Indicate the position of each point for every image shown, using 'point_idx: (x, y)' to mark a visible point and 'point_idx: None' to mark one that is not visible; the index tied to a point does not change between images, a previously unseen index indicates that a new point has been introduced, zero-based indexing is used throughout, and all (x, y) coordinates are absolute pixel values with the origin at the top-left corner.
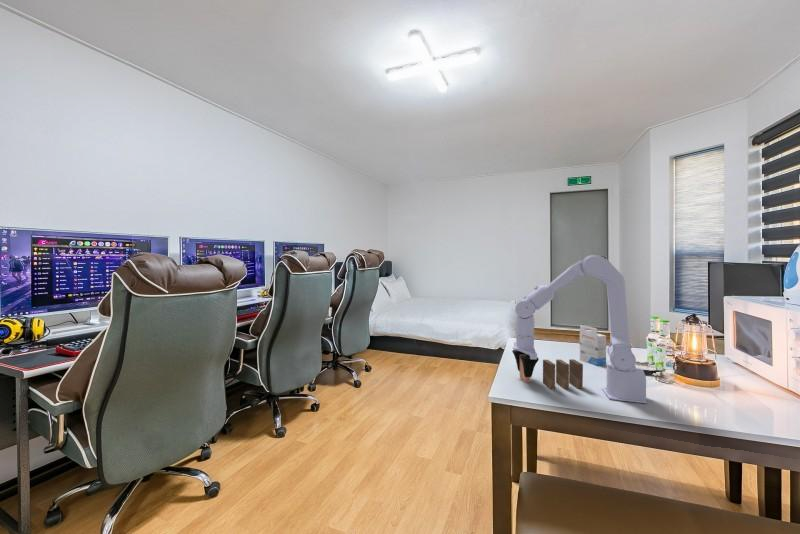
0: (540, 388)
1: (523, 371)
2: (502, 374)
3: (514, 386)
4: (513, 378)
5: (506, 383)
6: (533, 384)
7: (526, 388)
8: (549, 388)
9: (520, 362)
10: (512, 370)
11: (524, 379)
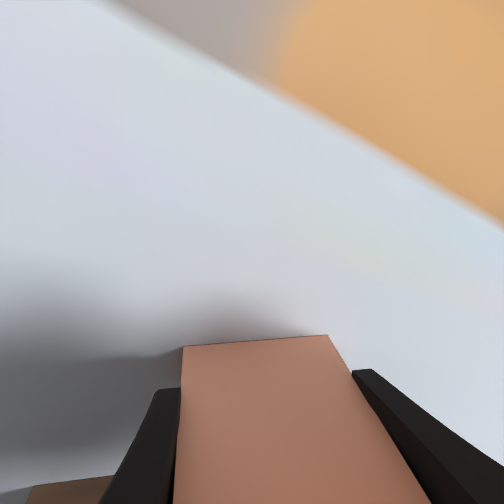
0: (35, 427)
1: (242, 420)
2: (424, 186)
3: (42, 198)
4: (295, 267)
5: (137, 129)
6: (134, 398)
7: (3, 311)
8: (42, 486)
9: (389, 499)
10: (493, 321)
11: (205, 358)
